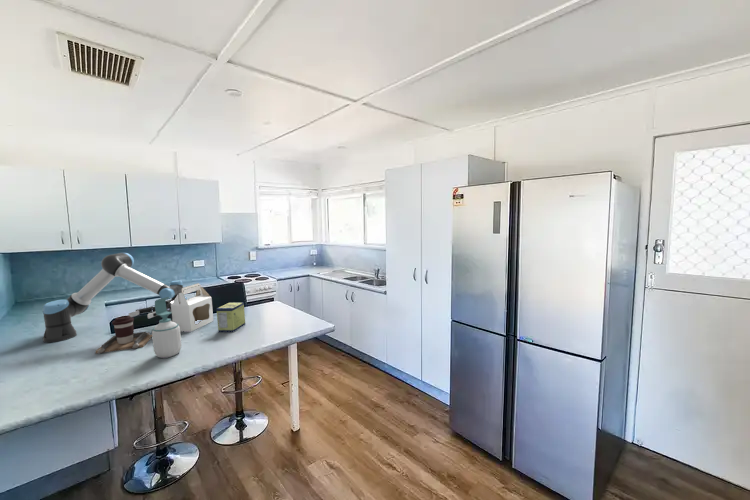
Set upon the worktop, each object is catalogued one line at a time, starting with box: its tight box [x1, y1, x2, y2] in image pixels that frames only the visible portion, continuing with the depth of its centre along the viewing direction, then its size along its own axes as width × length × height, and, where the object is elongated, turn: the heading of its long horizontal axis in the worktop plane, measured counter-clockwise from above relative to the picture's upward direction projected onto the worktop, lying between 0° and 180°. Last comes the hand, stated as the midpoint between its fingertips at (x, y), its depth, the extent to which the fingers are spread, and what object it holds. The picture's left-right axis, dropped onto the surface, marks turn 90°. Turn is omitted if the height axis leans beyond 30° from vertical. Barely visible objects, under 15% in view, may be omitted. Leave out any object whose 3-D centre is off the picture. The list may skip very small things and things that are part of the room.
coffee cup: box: [111, 315, 135, 344], centre depth 187 cm, size 10×10×15 cm
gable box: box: [171, 282, 214, 333], centre depth 217 cm, size 22×13×28 cm, turn 170°
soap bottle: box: [151, 297, 182, 359], centre depth 170 cm, size 12×12×31 cm
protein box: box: [216, 301, 246, 333], centre depth 210 cm, size 10×16×16 cm
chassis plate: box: [95, 331, 153, 354], centre depth 187 cm, size 22×21×4 cm
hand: (138, 316), depth 196 cm, fingers open, 13 cm apart
